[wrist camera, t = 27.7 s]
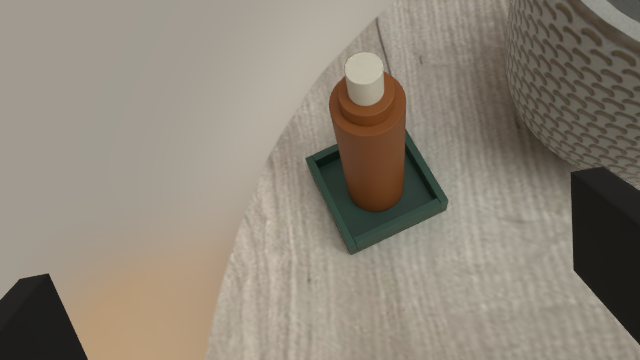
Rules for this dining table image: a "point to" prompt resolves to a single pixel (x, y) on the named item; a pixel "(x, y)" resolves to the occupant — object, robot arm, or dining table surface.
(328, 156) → the tray
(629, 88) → the planter
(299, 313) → the dining table surface
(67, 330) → the robot arm
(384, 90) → the bottle
